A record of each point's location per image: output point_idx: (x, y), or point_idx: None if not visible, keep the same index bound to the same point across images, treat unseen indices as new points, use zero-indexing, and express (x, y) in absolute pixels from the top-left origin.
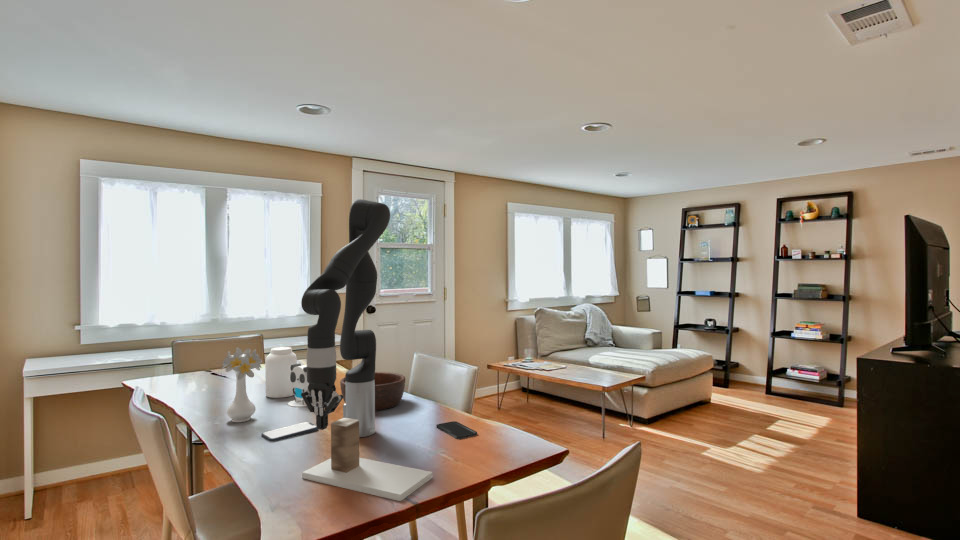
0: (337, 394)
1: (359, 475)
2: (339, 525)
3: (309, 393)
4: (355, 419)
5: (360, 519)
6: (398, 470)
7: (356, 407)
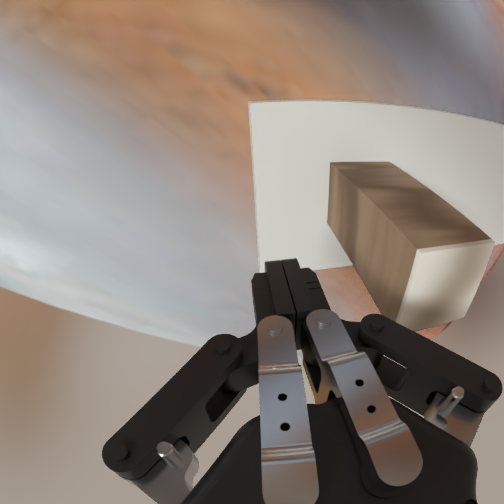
0: (477, 424)
1: None
2: (436, 327)
3: (192, 482)
4: (481, 245)
5: None
6: (484, 149)
7: None
